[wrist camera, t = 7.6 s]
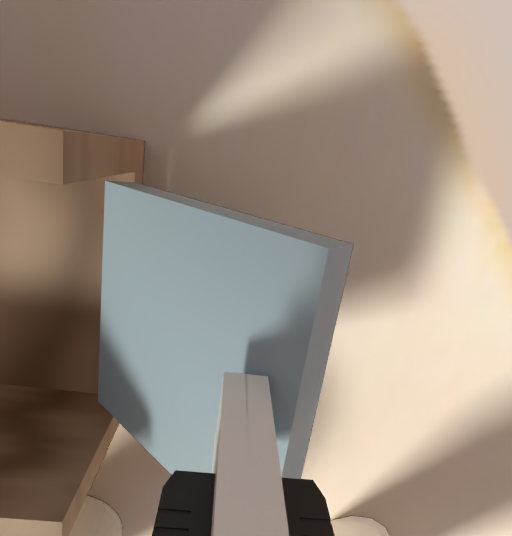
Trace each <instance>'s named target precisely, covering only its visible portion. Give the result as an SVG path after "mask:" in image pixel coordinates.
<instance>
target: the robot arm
mask: <svg viewBox="0 0 512 536" xmlns="http://www.w3.org/2000/svg"><path fill="white" fill-rule="evenodd" d="M330 520H331V519H330V515H329V512H328V508H327V504H326V500H325V497H324V496H323V494H322V493H321V491H320V490H319V488H318V487H317V486H316V484H315V483H314V481H313V480H306V479H293V478H281V470H280V463H279V455H278V448H277V440H276V433H275V425H274V417H273V410H272V402H271V395H270V387H269V380H268V376H260V375H250V374H241V373H231V372H224V375H223V383H222V390H221V397H220V404H219V411H218V419H217V426H216V433H215V440H214V452H213V464H212V473H203V472H191V471H179V470H175V471H174V473H173V474H172V476H171V477H170V478H169V480H168V481H167V482H166V484H165V485H164V486H163V489H162V494H161V498H160V502H159V507H158V512H157V516H156V520H155V525H154V530H153V533H152V536H335V535H334V531H333V527H332V524H331V523H330Z"/></svg>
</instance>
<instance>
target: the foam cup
mask: <svg viewBox="0 0 512 536" xmlns="http://www.w3.org/2000/svg"><path fill="white" fill-rule="evenodd" d="M330 523H331V524H332V527H333V531H334V535H335V536H389V534H388V533H387V531H386V529H385V527H384V526H383V525H381V524H379V523H378V522H376V521H374V520H373V519H371V518H366V517H358V516H349V517H344V518H339V519H335V520H332V521H331V522H330Z"/></svg>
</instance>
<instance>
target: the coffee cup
mask: <svg viewBox="0 0 512 536" xmlns="http://www.w3.org/2000/svg"><path fill="white" fill-rule="evenodd" d="M69 536H122V524H121V520H120V518H119V516H118V515H117V513H116V512H115V511H114V510H113V509H112V508H111V507H110V506H109V505H107V504H106V503H104V502H102V501H101V500H99V499H96V498H93V497H90V496H86V499H85V501H84V503H83V505H82V507H81V510H80V512H79V514H78V516H77V519H76V521H75V523H74V525H73V527H72V530H71V532H70V534H69Z"/></svg>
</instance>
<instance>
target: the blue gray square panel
mask: <svg viewBox="0 0 512 536" xmlns="http://www.w3.org/2000/svg"><path fill="white" fill-rule="evenodd" d="M353 245H354V244H351V243H348V242H344V241H341V240H337V239H333V238H330V237H326V236H323V235H319V234H316V233H312V232H309V231H305V230H302V229H298V228H294V227H291V226H287V225H284V224H280V223H277V222H273V221H270V220H266V219H263V218H259V217H255V216H252V215H248V214H245V213H241V212H238V211H234V210H231V209H227V208H224V207H220V206H217V205H213V204H209V203H206V202H202V201H199V200H195V199H192V198H188V197H185V196H181V195H178V194H174V193H170V192H167V191H163V190H160V189H156V188H153V187H149V186H146V185H142V184H139V183H135V182H121V181H105V199H104V229H103V259H102V289H101V319H100V349H99V379H98V402H99V403H100V404H101V405H102V406H103V407H104V408H105V409H106V410H107V411H108V412H109V413H110V414H111V415H112V416H113V417H114V418H115V419H116V420H117V421H118V422H119V423H120V424H121V425H122V426H123V427H124V428H125V429H126V430H127V431H128V432H129V433H130V434H131V435H132V436H133V437H134V438H135V439H136V440H137V441H138V442H139V443H140V444H141V445H142V446H143V447H144V448H145V449H146V450H147V451H148V452H149V453H150V454H151V455H152V456H153V457H154V458H155V459H156V460H157V461H158V462H159V463H160V464H161V465H162V466H163V467H164V468H165V469H166V470H167V471H168V472H169V473H170V474H171V475H172V474H173V473H174V471H175V470H179V471H191V472H203V473H212V464H213V452H214V440H215V433H216V426H217V419H218V411H219V404H220V397H221V390H222V383H223V375H224V372H231V373H241V374H250V375H260V376H268V380H269V387H270V395H271V402H272V410H273V417H274V425H275V433H276V440H277V448H278V455H279V463H280V470H281V478H293V479H301V475H302V471H303V466H304V462H305V457H306V453H307V449H308V444H309V440H310V435H311V431H312V426H313V422H314V418H315V413H316V409H317V404H318V400H319V395H320V391H321V387H322V382H323V378H324V373H325V369H326V364H327V360H328V356H329V351H330V347H331V342H332V338H333V333H334V329H335V325H336V320H337V316H338V311H339V307H340V302H341V298H342V294H343V289H344V285H345V280H346V276H347V272H348V267H349V263H350V258H351V254H352V249H353Z"/></svg>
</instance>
